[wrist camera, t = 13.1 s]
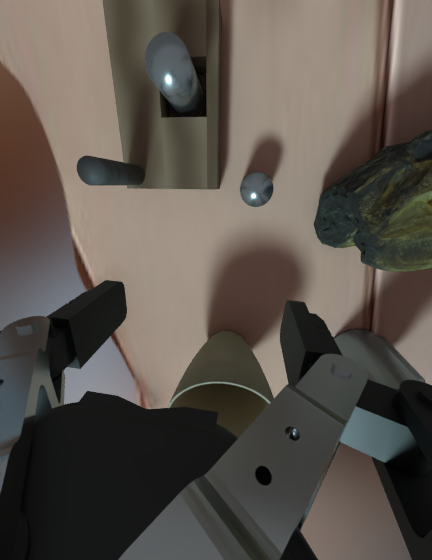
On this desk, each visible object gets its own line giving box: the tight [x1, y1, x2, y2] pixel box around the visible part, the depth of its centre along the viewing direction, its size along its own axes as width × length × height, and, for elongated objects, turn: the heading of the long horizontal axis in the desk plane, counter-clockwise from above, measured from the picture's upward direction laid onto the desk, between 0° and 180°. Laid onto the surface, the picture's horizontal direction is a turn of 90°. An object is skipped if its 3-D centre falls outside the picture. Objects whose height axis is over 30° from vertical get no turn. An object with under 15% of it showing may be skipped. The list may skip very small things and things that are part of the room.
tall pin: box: [145, 32, 205, 117], centre depth 25 cm, size 4×4×10 cm
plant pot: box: [167, 331, 274, 438], centre depth 36 cm, size 15×15×16 cm
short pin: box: [240, 172, 273, 207], centre depth 30 cm, size 4×4×5 cm
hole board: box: [77, 0, 222, 189], centre depth 24 cm, size 12×18×14 cm, turn 0°
